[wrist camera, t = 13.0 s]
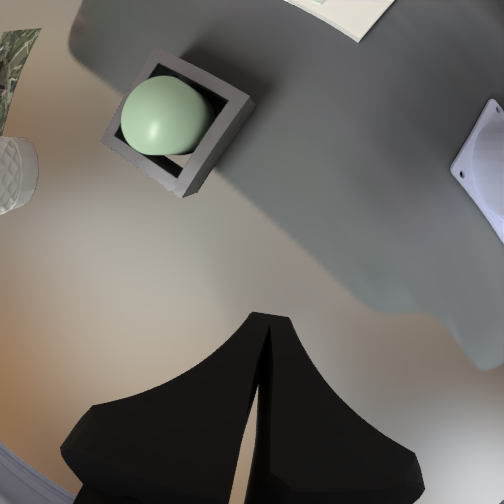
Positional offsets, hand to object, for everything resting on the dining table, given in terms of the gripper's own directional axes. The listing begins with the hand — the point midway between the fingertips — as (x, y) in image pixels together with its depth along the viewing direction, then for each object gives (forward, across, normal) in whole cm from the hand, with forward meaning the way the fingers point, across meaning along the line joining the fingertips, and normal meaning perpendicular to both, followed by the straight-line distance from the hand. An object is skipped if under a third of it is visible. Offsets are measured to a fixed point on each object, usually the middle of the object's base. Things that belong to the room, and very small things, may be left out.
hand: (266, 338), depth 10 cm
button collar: (+10, +7, -8) cm, 15 cm away
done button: (+10, +7, -8) cm, 14 cm away
